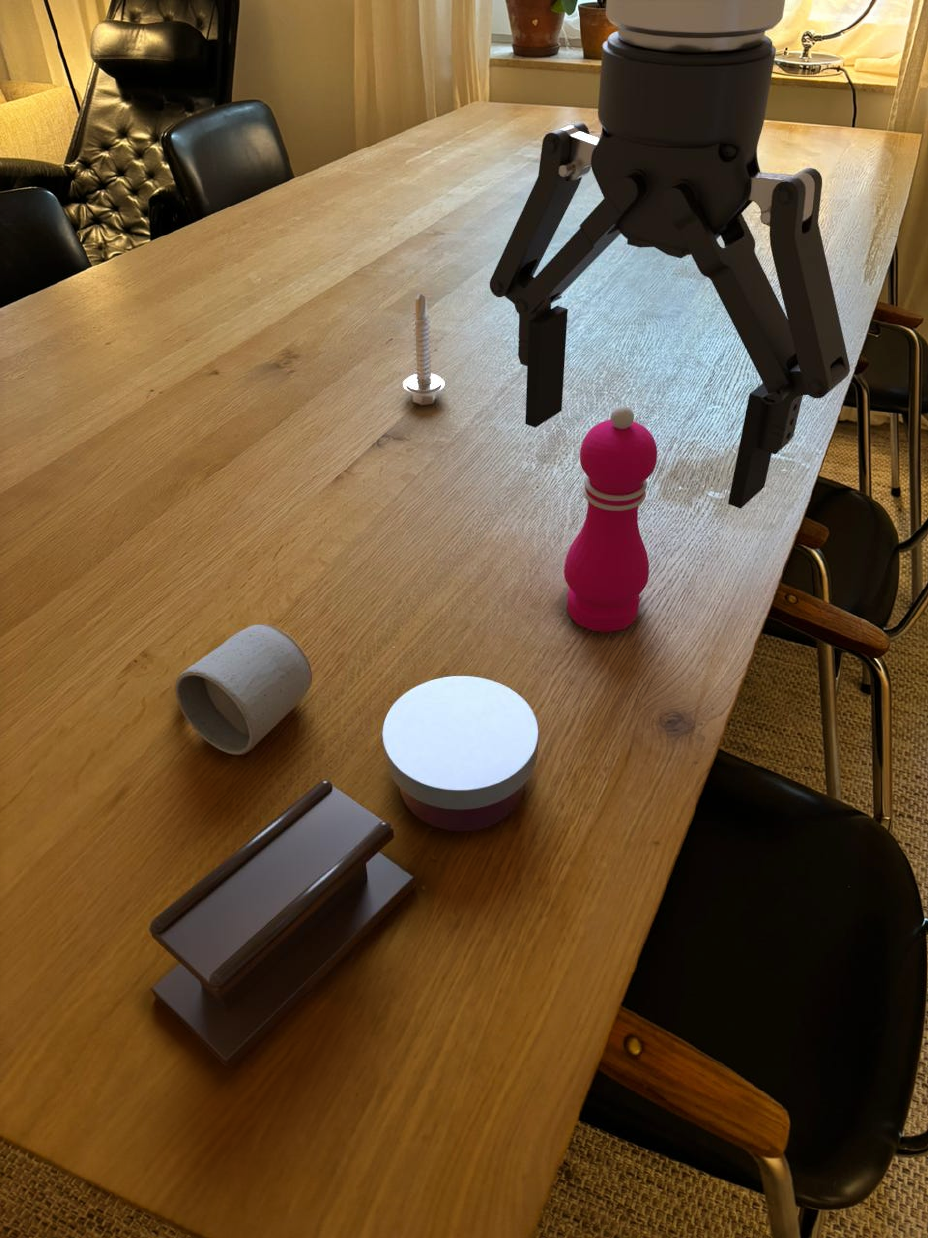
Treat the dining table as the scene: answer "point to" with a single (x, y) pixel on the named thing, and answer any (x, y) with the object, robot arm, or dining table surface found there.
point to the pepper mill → (611, 525)
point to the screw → (422, 359)
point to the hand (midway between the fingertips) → (638, 454)
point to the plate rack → (276, 919)
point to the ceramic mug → (244, 687)
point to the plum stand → (462, 813)
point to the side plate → (460, 742)
